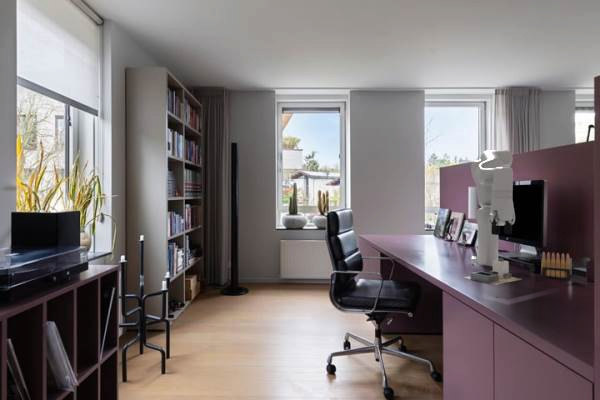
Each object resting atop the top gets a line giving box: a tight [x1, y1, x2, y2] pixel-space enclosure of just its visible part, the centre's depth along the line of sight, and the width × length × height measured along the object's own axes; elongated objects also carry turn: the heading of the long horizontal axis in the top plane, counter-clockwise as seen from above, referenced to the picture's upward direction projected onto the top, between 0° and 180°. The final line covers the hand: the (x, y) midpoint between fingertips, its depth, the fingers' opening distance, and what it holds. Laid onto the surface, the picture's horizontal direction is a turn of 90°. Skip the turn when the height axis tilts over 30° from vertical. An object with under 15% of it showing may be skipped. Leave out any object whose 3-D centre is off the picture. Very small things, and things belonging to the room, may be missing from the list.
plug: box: [492, 257, 510, 278], centre depth 146 cm, size 4×4×8 cm
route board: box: [463, 270, 523, 286], centre depth 143 cm, size 14×20×4 cm
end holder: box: [469, 270, 499, 284], centre depth 140 cm, size 8×8×2 cm
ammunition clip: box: [540, 251, 572, 281], centre depth 150 cm, size 11×2×12 cm, turn 62°
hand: (501, 234), depth 146 cm, fingers open, 9 cm apart
